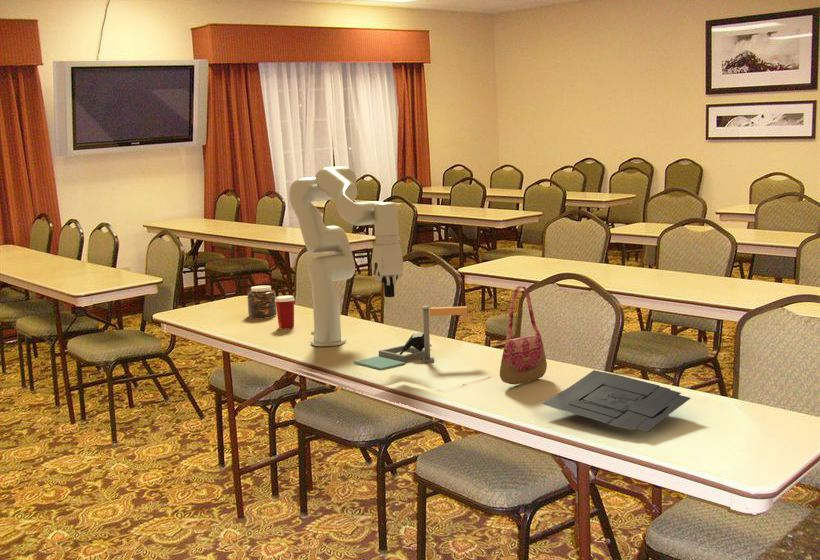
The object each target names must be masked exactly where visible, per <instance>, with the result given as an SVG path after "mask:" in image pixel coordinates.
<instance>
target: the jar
mask: <svg viewBox="0 0 820 560" xmlns="http://www.w3.org/2000/svg"><path fill="white" fill-rule="evenodd" d="M276 297H277V296H276V291H275V290H272V286H271V285H255V286H251V287H250V291H248V292H247V312H248V313H247V314H248V318H249V317H252V318H251V319H254V318H263V319H266V318H265V317H270V318H272V317H271V316H274V315H276V314H277V307H276V301H275V300H276ZM276 316H277V315H276ZM274 317H275V316H274Z"/></svg>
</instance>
